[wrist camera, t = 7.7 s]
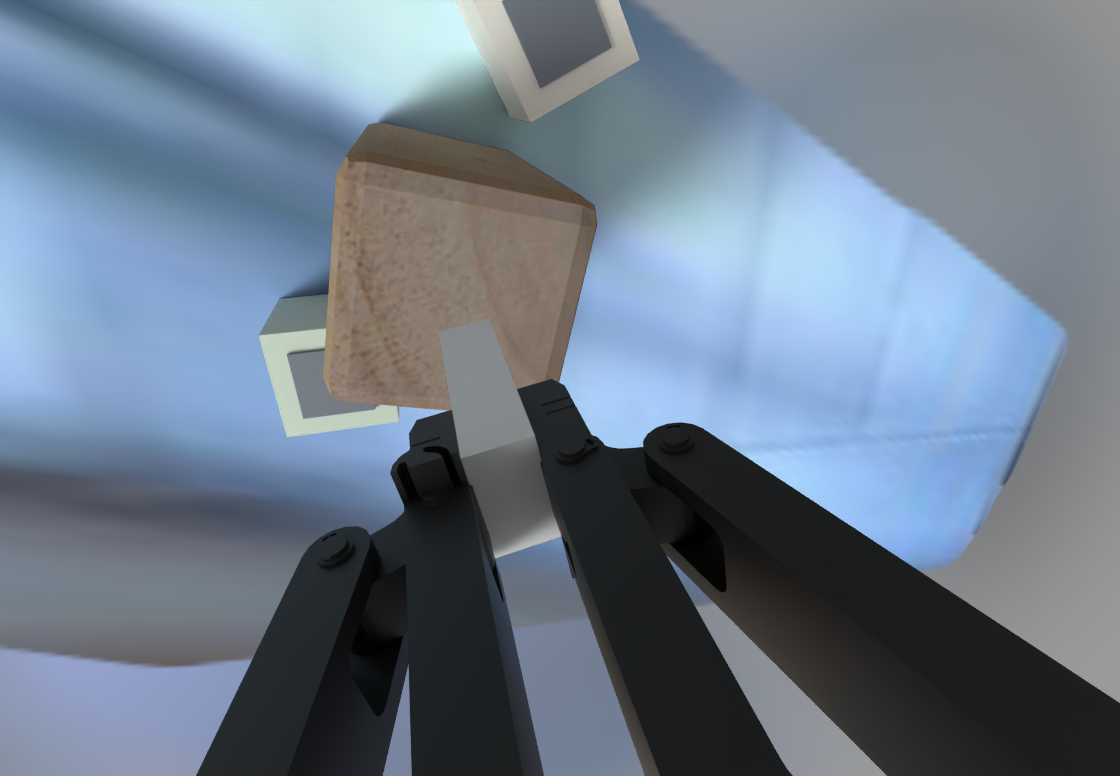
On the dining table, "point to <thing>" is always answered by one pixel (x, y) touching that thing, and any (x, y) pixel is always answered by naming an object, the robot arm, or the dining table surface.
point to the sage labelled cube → (309, 371)
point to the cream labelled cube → (547, 48)
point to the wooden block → (447, 264)
